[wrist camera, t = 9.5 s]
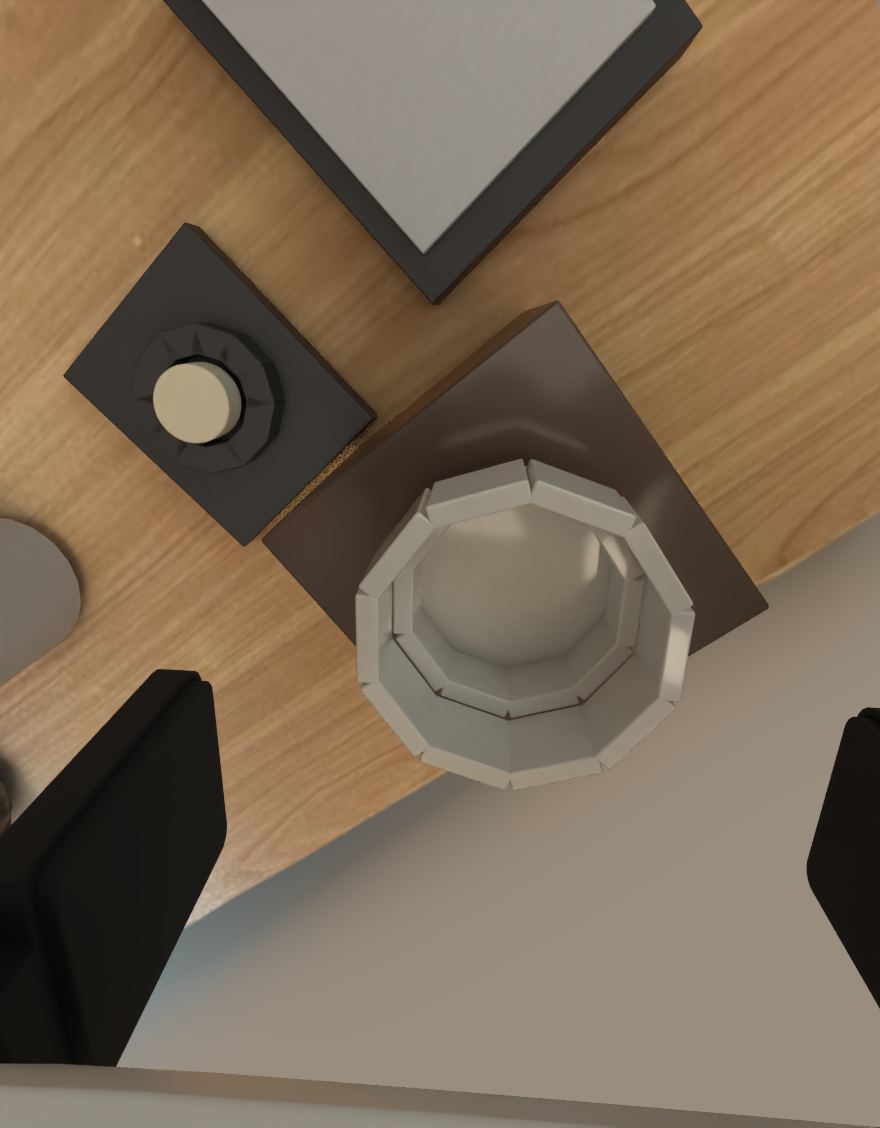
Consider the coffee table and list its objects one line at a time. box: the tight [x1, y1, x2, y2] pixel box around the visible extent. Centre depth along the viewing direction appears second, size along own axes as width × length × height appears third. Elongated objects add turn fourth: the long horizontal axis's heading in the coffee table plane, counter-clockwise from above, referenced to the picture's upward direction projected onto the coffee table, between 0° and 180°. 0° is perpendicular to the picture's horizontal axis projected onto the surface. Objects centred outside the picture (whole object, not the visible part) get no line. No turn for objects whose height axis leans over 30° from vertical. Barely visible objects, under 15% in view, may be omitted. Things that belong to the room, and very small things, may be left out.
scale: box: [163, 0, 702, 305], centre depth 24 cm, size 15×13×3 cm
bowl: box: [355, 459, 695, 790], centre depth 16 cm, size 7×7×4 cm
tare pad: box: [63, 223, 377, 546], centre depth 30 cm, size 11×9×3 cm
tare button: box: [153, 362, 241, 443], centre depth 28 cm, size 3×3×2 cm
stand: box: [262, 301, 769, 782], centre depth 25 cm, size 10×10×14 cm
